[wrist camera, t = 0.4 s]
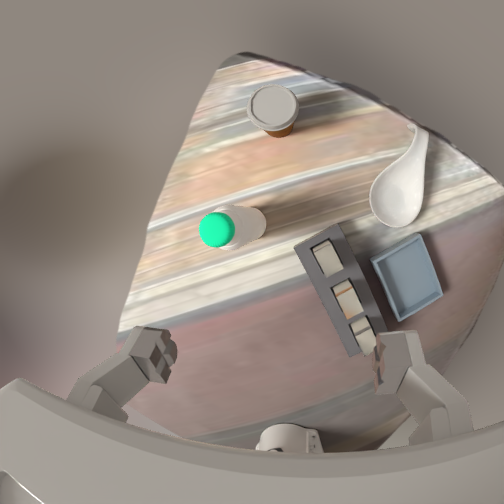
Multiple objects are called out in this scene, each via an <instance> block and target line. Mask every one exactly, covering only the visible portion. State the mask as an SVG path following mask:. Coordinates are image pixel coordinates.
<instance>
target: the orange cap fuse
mask: <svg viewBox="0 0 504 504" xmlns="http://www.w3.org/2000/svg"><path fill="white" fill-rule="evenodd" d="M332 287H333V289H334V292H335V295H336V298H337V300H338V302H339V304H340V306H341V308H342V310H343V312H344V314H345V316H346V318H347V319H349V318H351V317H353V316H355V315H357V314H359V313H361V312H363V311H364V310H363V308H362V306H361V304H360V302H359V300H358V297H357V295H356V293H355V291H354V289H353V287H352V285H351V284H350V282H349V281H348V279H346V280H344V281H342V282H340V283H338V284H336V285H334V286H332Z"/></svg>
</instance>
